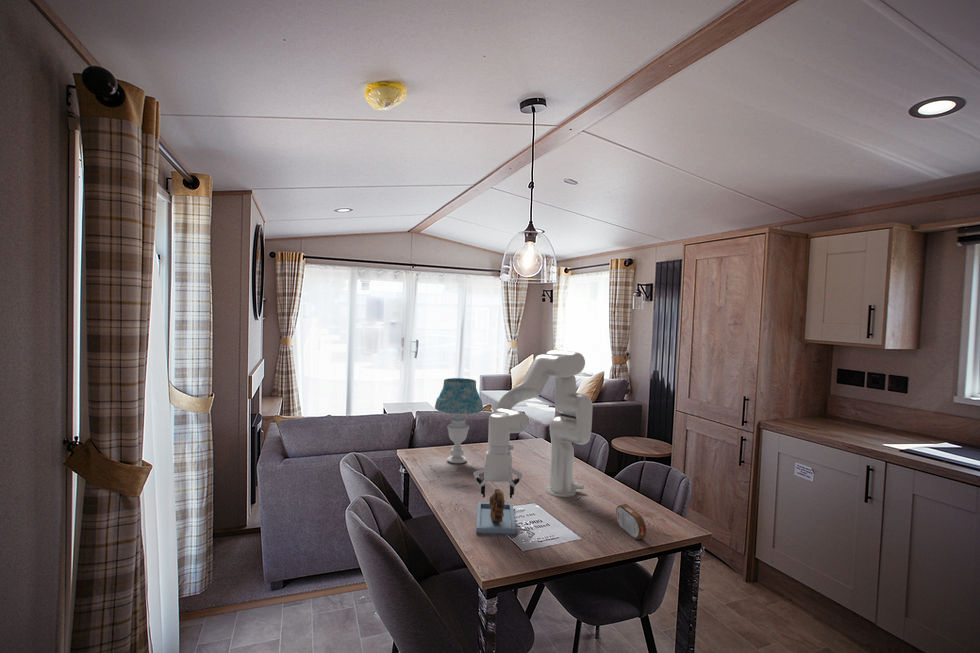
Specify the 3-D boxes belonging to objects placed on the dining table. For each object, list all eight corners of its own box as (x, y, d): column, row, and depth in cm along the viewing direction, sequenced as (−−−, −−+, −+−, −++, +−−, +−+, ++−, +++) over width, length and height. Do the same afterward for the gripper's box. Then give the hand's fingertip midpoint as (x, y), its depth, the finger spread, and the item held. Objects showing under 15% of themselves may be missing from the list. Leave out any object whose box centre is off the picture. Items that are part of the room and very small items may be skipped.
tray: (512, 508, 176) (512, 503, 176) (515, 535, 154) (516, 529, 154) (477, 507, 176) (477, 502, 175) (476, 533, 154) (476, 527, 154)
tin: (646, 543, 153) (647, 518, 152) (638, 544, 152) (639, 519, 151) (621, 523, 167) (622, 500, 167) (613, 524, 166) (615, 500, 166)
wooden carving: (484, 509, 172) (485, 483, 172) (496, 509, 173) (497, 482, 173) (494, 530, 156) (495, 500, 156) (507, 529, 157) (508, 500, 157)
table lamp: (484, 455, 241) (487, 378, 240) (476, 470, 217) (479, 385, 216) (439, 451, 244) (442, 376, 243) (426, 465, 221) (430, 382, 220)
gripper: (522, 446, 168) (520, 492, 169) (474, 445, 168) (473, 491, 169) (523, 452, 161) (522, 501, 161) (473, 451, 161) (472, 500, 161)
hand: (497, 496), depth 165 cm, fingers open, 9 cm apart
